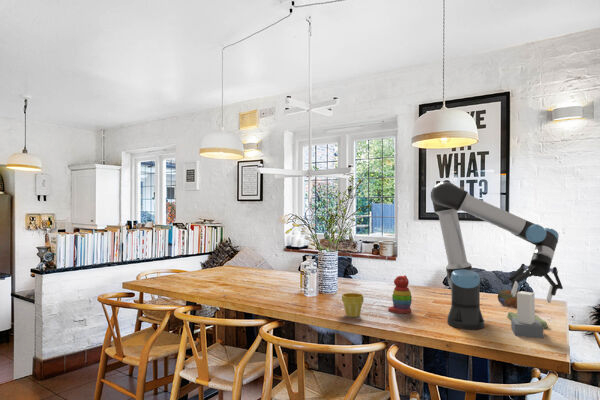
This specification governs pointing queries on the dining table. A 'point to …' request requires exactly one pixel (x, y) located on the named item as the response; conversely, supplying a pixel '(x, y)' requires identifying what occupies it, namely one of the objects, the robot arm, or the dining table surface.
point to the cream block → (525, 307)
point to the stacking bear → (401, 296)
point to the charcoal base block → (527, 329)
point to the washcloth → (543, 323)
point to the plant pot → (352, 303)
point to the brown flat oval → (507, 298)
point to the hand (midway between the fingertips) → (530, 298)
